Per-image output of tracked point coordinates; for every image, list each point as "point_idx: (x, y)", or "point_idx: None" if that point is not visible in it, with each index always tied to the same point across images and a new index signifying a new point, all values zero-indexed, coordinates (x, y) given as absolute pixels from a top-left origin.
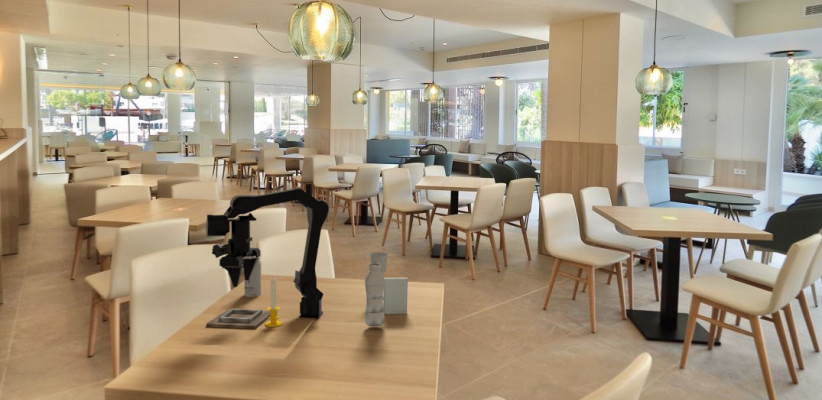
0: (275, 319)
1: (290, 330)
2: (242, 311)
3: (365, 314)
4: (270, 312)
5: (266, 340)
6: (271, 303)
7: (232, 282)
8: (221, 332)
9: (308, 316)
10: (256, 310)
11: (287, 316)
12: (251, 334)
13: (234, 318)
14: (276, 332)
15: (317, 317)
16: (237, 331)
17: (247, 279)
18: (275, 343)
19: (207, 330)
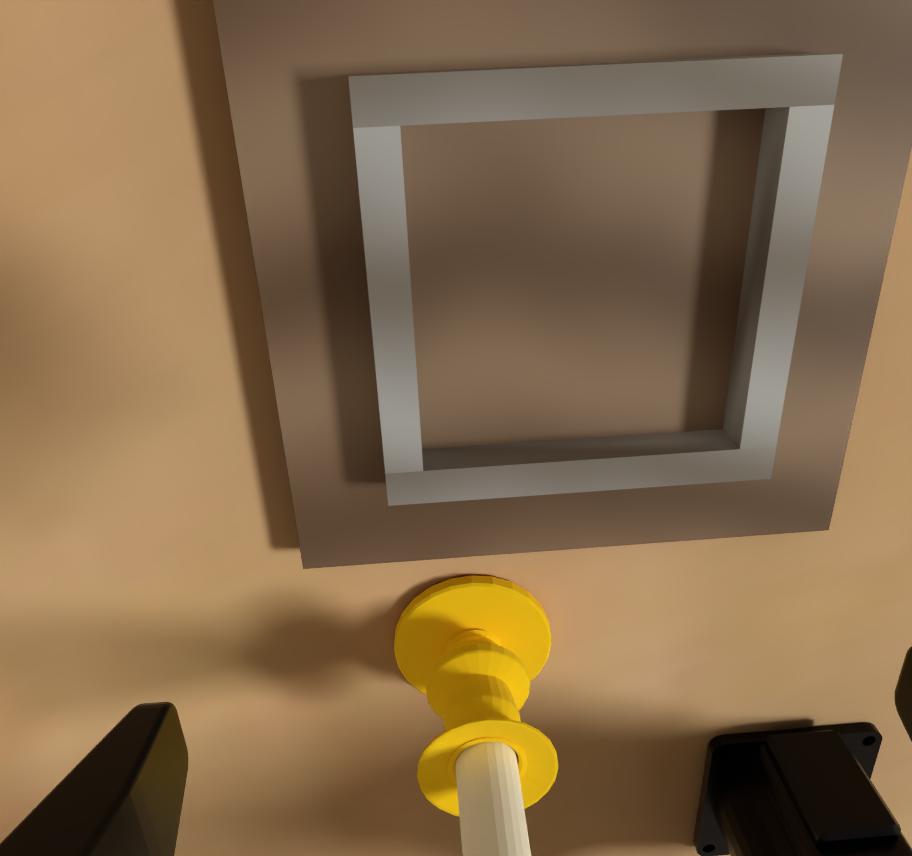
0: (438, 709)
1: (348, 789)
2: (761, 236)
3: None
4: (463, 714)
5: (50, 734)
6: (464, 821)
7: (49, 809)
8: (83, 269)
9: (705, 801)
10: (743, 425)
11: (738, 647)
12: (144, 576)
13: (372, 318)
14: (268, 725)
15: (696, 847)
16: (180, 420)
17: (910, 702)
18: (17, 806)
19: (81, 46)
